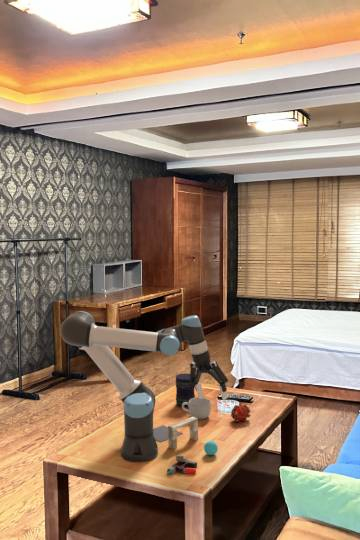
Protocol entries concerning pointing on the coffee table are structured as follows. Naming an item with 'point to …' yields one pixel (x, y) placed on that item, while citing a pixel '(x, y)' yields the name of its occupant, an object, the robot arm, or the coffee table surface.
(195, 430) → the bridge
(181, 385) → the storage jar
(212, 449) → the ball
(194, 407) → the teacup
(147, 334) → the robot arm
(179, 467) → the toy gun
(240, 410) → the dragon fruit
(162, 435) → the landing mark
